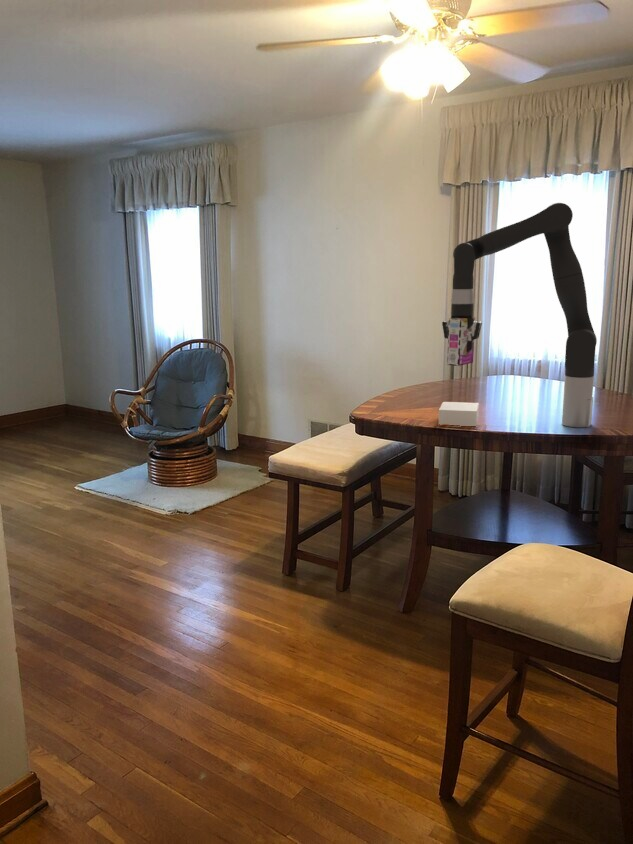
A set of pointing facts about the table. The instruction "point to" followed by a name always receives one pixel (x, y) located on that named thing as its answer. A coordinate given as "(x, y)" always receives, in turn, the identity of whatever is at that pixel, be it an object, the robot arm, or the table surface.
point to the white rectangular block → (459, 413)
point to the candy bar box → (459, 342)
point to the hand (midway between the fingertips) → (460, 350)
